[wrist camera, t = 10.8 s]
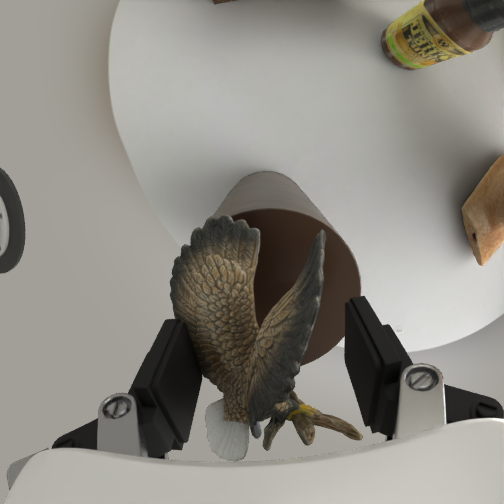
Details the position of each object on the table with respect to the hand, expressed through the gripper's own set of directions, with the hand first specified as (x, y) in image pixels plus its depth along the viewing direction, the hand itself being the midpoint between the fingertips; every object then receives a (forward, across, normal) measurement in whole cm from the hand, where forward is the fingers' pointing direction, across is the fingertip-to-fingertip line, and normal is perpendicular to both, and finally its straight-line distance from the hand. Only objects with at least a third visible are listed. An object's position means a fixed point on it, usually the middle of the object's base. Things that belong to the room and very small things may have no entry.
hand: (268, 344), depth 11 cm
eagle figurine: (+2, 0, 0) cm, 2 cm away
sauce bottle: (+23, -19, -18) cm, 35 cm away
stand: (+23, 0, 0) cm, 23 cm away
